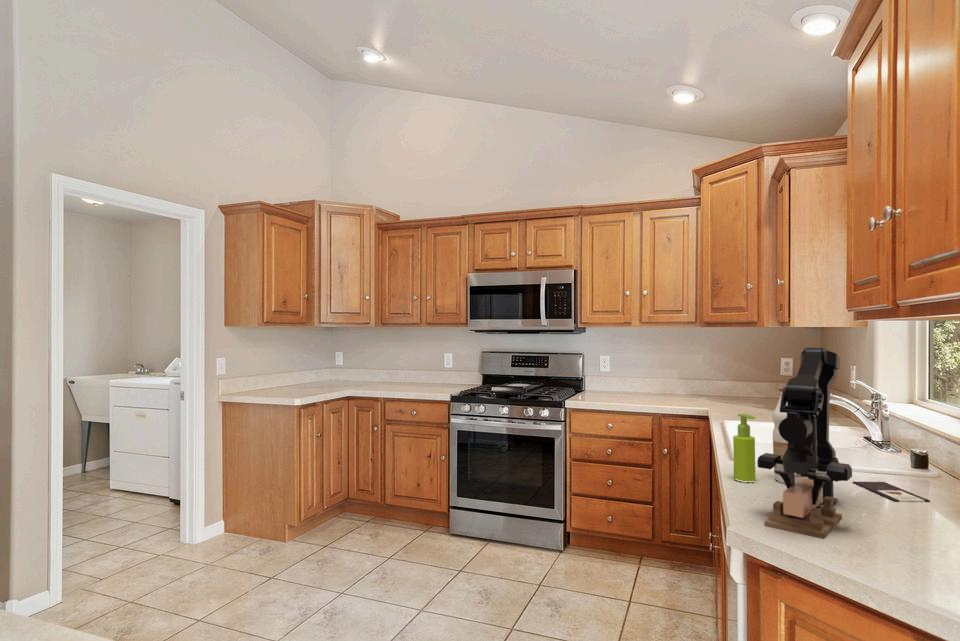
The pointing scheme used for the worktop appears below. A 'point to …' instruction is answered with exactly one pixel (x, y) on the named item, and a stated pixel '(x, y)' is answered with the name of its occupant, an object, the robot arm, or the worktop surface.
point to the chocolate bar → (891, 492)
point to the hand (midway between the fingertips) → (803, 502)
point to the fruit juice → (781, 439)
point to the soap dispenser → (744, 451)
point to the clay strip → (800, 498)
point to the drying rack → (806, 519)
